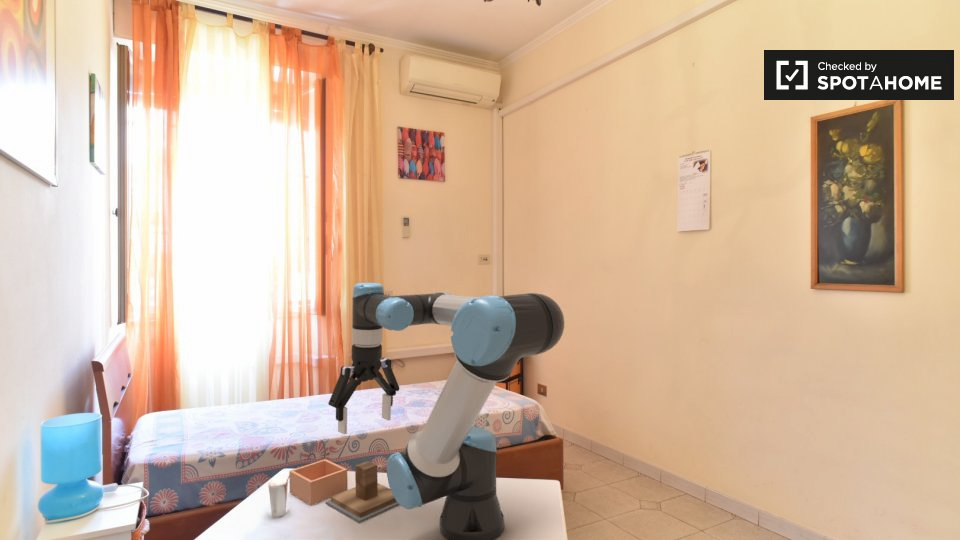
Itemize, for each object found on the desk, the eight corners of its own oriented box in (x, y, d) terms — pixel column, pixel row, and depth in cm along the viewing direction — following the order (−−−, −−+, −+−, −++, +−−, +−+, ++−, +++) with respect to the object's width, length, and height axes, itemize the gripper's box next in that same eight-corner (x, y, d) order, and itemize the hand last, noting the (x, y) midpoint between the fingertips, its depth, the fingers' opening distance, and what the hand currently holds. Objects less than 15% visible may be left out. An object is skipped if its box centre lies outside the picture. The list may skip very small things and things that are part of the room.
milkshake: (285, 519, 127) (284, 479, 127) (265, 518, 128) (264, 477, 128) (294, 510, 132) (294, 471, 131) (275, 509, 133) (274, 470, 132)
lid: (402, 499, 136) (401, 464, 136) (360, 517, 127) (359, 480, 126) (372, 484, 145) (371, 452, 145) (330, 501, 135) (330, 466, 135)
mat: (407, 501, 136) (407, 499, 136) (359, 523, 125) (359, 520, 125) (373, 484, 146) (373, 482, 146) (325, 503, 135) (325, 501, 135)
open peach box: (347, 491, 143) (347, 469, 142) (310, 505, 134) (310, 482, 134) (325, 479, 150) (325, 459, 150) (289, 492, 142) (289, 470, 142)
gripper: (395, 335, 144) (393, 410, 146) (314, 348, 125) (313, 434, 127) (414, 339, 139) (411, 417, 141) (332, 354, 120) (330, 443, 122)
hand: (365, 425), depth 134 cm, fingers open, 13 cm apart
